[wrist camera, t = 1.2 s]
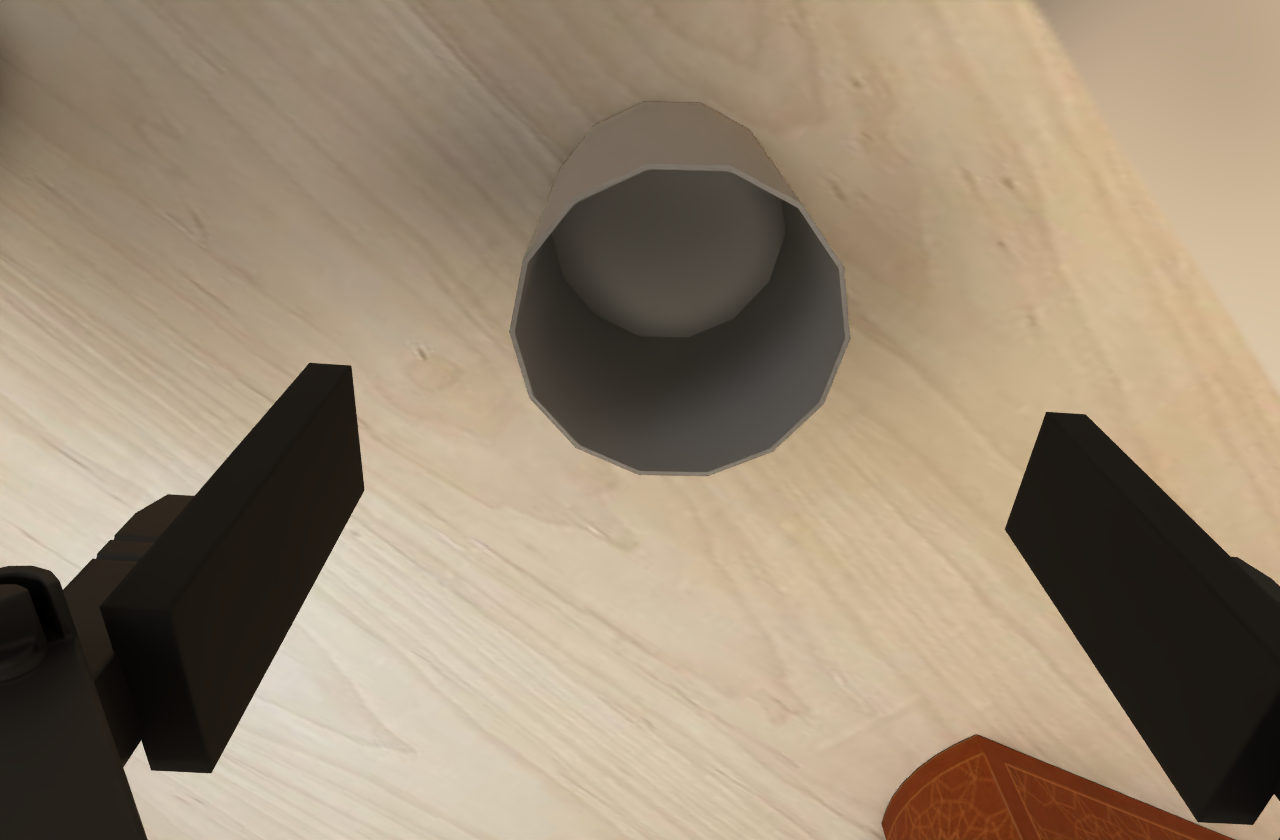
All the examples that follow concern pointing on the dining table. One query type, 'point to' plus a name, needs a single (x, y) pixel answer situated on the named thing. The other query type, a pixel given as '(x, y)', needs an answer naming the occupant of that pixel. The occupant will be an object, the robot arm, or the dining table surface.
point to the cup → (677, 297)
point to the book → (1019, 802)
